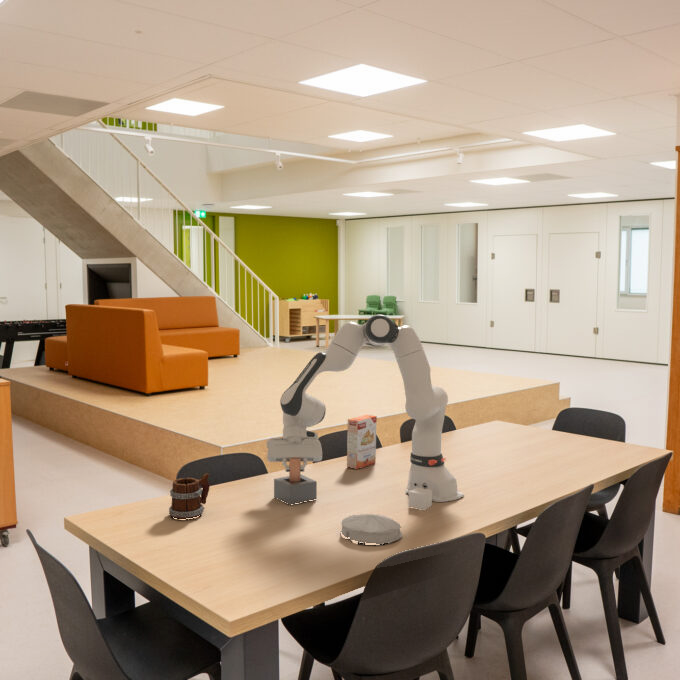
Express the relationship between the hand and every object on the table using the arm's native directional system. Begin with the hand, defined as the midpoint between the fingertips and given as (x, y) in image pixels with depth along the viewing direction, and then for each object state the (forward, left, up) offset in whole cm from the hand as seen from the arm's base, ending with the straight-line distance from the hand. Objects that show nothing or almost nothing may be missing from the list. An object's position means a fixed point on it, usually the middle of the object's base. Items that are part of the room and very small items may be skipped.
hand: (295, 470), depth 257 cm
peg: (+1, 0, -6) cm, 6 cm away
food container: (-43, -2, -11) cm, 44 cm away
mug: (+6, +38, -11) cm, 40 cm away
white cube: (-32, -32, -11) cm, 47 cm away
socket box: (0, 0, -11) cm, 11 cm away
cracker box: (+23, -47, -11) cm, 54 cm away
